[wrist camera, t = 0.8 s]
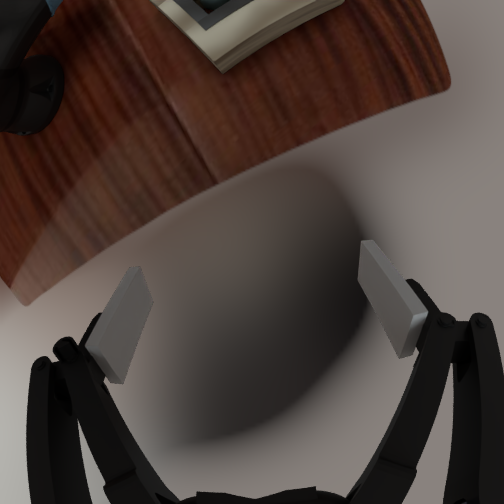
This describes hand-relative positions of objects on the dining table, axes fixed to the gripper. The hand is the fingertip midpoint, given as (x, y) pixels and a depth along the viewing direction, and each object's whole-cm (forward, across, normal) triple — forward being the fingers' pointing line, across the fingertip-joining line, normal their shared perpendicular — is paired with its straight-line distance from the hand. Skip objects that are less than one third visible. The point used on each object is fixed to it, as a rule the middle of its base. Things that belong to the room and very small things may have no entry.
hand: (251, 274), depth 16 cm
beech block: (+28, +4, +28) cm, 39 cm away
